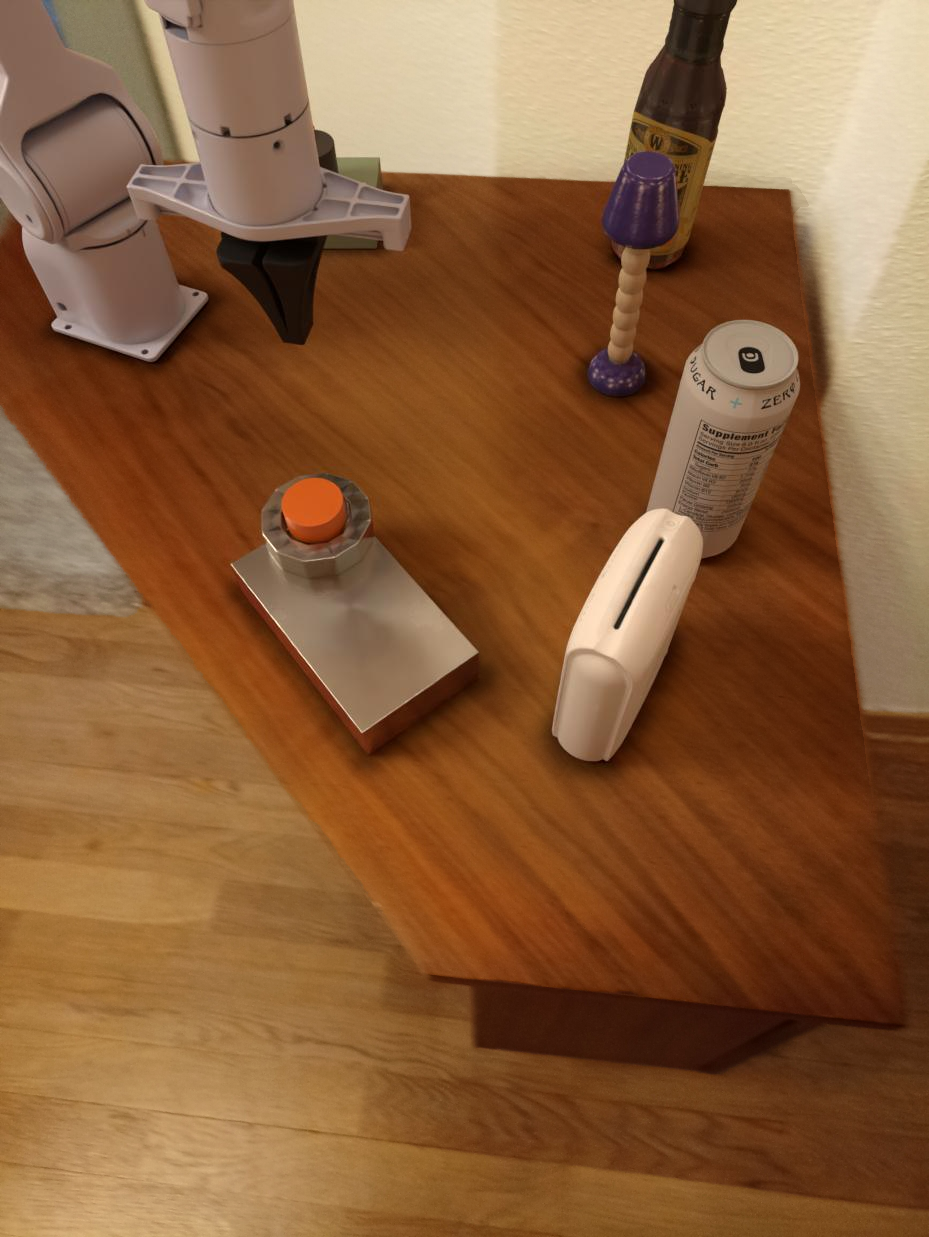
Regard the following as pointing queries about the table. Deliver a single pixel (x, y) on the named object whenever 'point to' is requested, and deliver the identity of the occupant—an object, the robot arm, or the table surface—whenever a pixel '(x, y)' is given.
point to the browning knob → (326, 150)
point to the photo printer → (625, 633)
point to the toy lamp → (634, 261)
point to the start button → (314, 510)
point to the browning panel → (363, 172)
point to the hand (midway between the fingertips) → (297, 332)
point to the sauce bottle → (683, 108)
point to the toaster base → (355, 621)
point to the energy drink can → (726, 428)
